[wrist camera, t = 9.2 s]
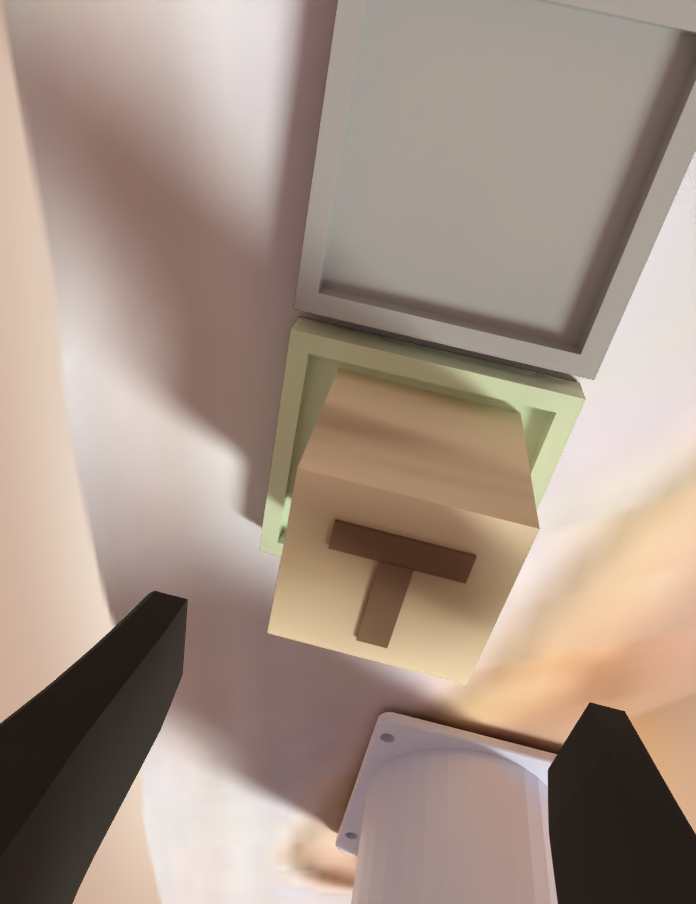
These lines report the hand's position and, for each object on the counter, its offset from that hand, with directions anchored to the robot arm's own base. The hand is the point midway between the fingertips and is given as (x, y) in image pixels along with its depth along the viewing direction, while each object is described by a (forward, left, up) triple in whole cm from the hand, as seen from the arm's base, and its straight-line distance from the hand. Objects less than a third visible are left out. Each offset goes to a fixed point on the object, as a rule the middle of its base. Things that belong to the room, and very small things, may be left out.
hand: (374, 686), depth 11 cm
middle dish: (+8, 0, -7) cm, 10 cm away
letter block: (0, 0, -7) cm, 7 cm away
